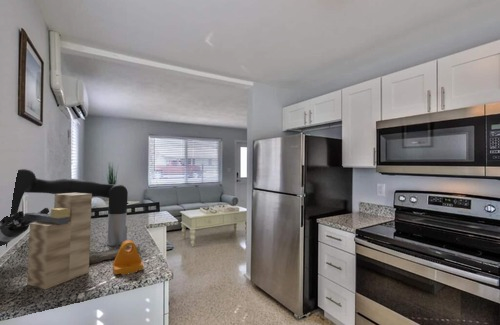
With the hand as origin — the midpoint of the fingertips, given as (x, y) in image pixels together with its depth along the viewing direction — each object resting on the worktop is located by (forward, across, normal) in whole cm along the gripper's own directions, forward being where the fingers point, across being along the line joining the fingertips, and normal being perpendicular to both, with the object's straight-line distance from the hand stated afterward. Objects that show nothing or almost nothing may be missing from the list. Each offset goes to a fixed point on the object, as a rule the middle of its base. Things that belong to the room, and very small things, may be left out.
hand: (35, 211), depth 97 cm
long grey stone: (-8, +24, +25) cm, 36 cm away
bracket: (+11, +20, +36) cm, 42 cm away
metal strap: (+4, 0, +6) cm, 7 cm away
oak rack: (-5, +4, +27) cm, 27 cm away
